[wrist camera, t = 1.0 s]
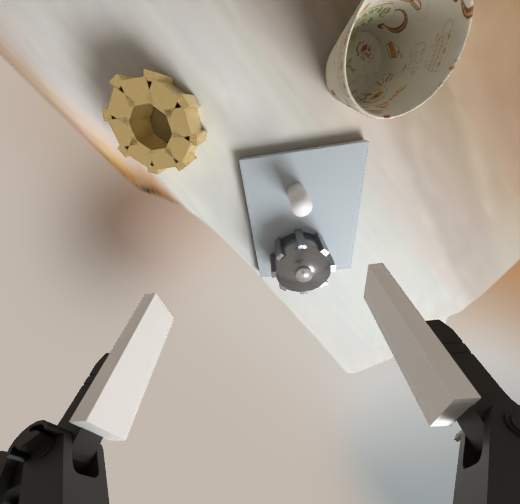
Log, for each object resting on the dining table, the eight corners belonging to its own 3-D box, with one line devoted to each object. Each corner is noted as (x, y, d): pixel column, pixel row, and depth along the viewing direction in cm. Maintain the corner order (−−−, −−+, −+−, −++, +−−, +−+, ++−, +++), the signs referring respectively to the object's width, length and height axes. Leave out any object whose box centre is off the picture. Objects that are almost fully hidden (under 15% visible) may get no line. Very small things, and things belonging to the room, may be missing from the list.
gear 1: (113, 83, 24) (82, 79, 19) (191, 69, 23) (176, 61, 19) (149, 168, 29) (130, 178, 25) (213, 158, 28) (205, 167, 24)
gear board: (240, 158, 28) (234, 171, 22) (363, 139, 27) (391, 149, 21) (260, 271, 39) (260, 300, 34) (347, 262, 38) (363, 290, 32)
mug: (300, 93, 24) (320, 87, 16) (376, -82, 17) (478, -246, 9) (359, 127, 26) (404, 137, 18) (448, -19, 19) (586, -110, 11)
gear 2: (266, 231, 33) (268, 253, 28) (328, 224, 32) (340, 245, 27) (273, 276, 38) (274, 301, 33) (325, 271, 37) (335, 295, 33)
